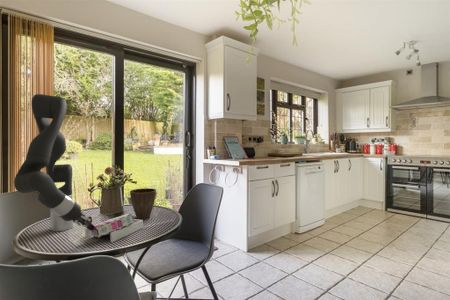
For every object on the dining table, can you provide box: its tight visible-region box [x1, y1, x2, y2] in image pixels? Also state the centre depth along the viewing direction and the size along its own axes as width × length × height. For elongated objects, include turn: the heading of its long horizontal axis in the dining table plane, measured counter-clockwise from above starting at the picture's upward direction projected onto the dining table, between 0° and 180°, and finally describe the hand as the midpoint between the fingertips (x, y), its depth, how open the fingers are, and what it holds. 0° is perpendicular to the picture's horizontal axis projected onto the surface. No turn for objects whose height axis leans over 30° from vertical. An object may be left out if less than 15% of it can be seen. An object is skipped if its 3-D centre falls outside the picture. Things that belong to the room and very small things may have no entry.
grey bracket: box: [84, 216, 144, 243], centre depth 120 cm, size 17×20×4 cm
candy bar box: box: [92, 213, 135, 238], centre depth 116 cm, size 11×5×16 cm
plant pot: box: [129, 187, 157, 220], centre depth 145 cm, size 15×15×16 cm
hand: (92, 228), depth 108 cm, fingers closed
